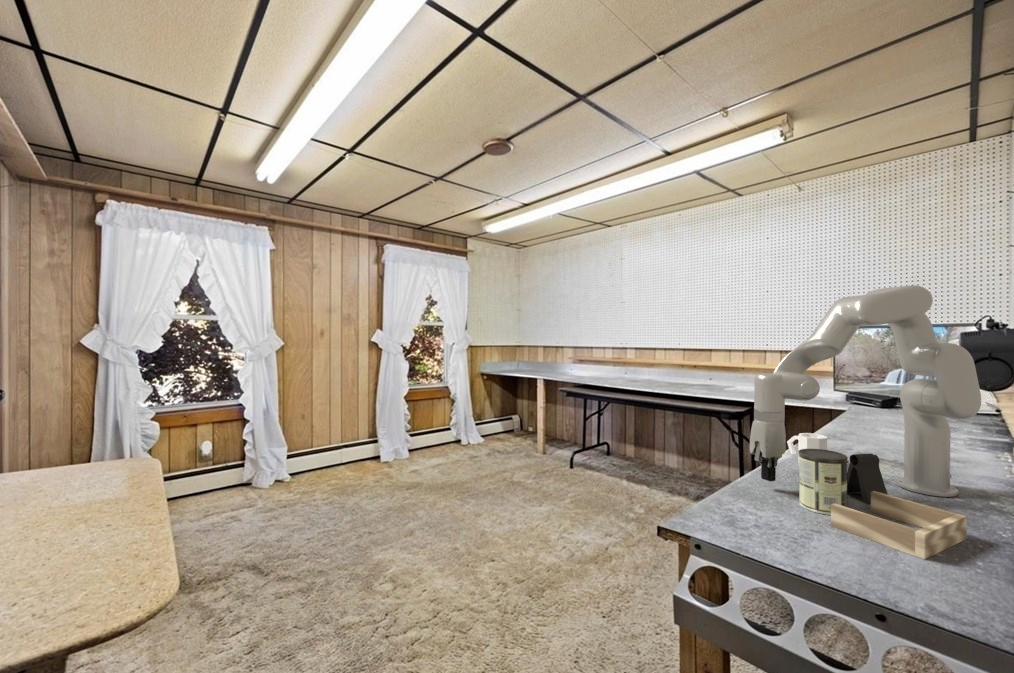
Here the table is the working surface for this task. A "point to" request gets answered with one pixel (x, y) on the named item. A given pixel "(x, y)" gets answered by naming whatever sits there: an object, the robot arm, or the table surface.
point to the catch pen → (923, 543)
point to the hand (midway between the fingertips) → (768, 479)
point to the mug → (807, 442)
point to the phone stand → (864, 477)
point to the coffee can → (822, 480)
